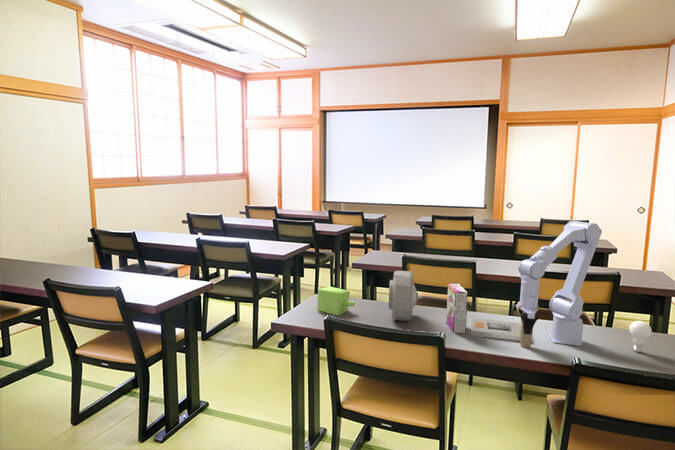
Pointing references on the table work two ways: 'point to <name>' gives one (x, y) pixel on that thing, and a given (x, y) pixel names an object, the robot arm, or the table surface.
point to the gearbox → (333, 300)
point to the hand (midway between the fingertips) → (526, 331)
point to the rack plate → (482, 325)
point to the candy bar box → (457, 308)
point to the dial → (402, 295)
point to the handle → (525, 338)
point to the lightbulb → (639, 334)
